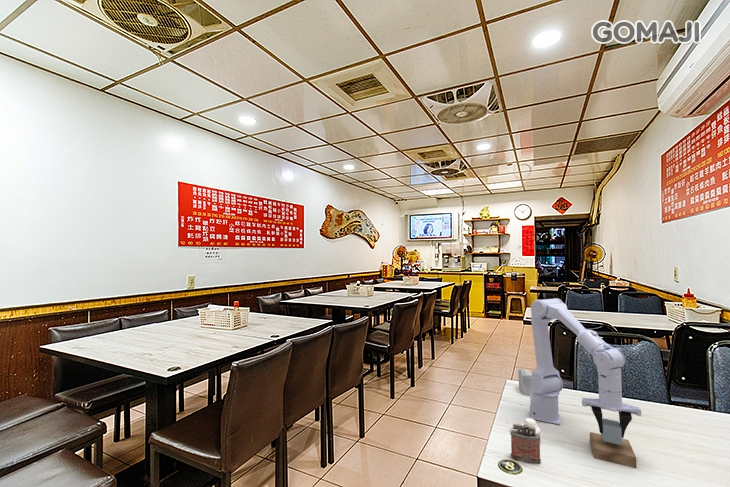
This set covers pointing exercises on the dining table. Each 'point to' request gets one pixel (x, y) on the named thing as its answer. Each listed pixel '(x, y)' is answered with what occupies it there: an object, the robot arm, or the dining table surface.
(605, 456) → the walnut block
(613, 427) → the slate cube
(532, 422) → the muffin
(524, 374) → the medicine box
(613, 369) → the robot arm
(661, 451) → the dining table surface
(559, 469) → the dining table surface
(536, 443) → the lighter
